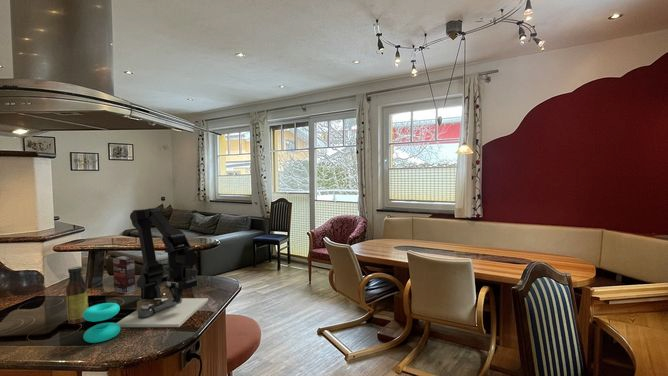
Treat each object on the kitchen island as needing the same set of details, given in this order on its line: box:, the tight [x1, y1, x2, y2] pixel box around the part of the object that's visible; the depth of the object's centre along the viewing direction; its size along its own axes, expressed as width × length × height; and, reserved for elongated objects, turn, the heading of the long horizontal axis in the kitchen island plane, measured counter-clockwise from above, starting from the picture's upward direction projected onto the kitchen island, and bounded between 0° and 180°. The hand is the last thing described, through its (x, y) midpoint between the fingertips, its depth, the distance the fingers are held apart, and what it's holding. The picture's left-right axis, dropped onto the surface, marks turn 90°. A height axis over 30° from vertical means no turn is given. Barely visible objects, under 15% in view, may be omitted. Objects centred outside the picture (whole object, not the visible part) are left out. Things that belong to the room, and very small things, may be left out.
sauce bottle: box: [65, 266, 89, 325], centre depth 120 cm, size 7×6×20 cm
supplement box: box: [112, 256, 136, 295], centre depth 152 cm, size 9×5×16 cm, turn 69°
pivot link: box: [138, 296, 183, 319], centre depth 128 cm, size 18×5×4 cm, turn 156°
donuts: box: [83, 302, 122, 344], centre depth 108 cm, size 10×10×10 cm
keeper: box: [136, 298, 163, 312], centre depth 127 cm, size 8×3×4 cm, turn 89°
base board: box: [116, 297, 209, 328], centre depth 127 cm, size 23×25×1 cm
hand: (177, 302), depth 132 cm, fingers closed
